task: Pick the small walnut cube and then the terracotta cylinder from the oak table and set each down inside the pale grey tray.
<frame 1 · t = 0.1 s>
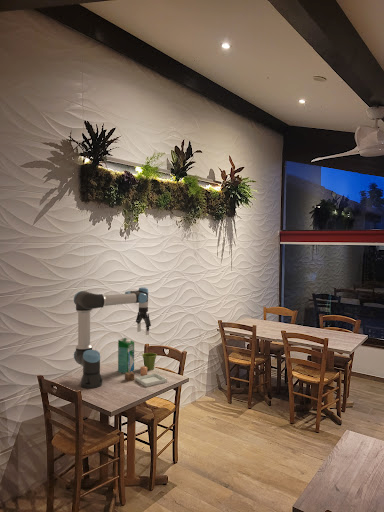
hand: (143, 333, 327), 28 cm above the table, fingers open, 13 cm apart
plant pot: (149, 368, 325), on the table
milk carton: (126, 371, 319), on the table
walnut cube: (129, 379, 299), on the table
terracotta cylinder: (143, 376, 306), on the table
pale grey tray: (151, 381, 296), on the table
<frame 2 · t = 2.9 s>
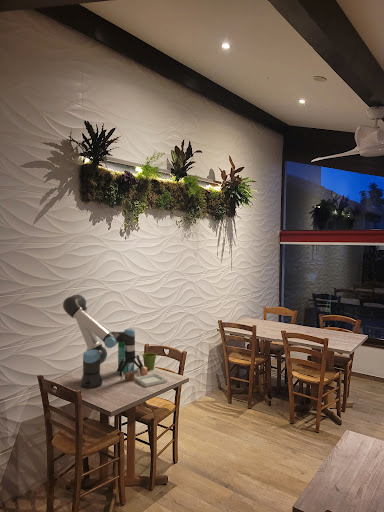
hand: (130, 378, 299), 1 cm above the table, fingers open, 13 cm apart
terracotta cylinder: (143, 376, 306), on the table, touching gripper
everything else where it was.
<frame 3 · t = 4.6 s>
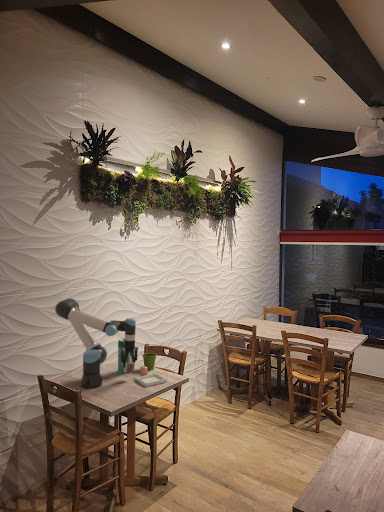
hand: (128, 370, 299), 6 cm above the table, fingers closed on walnut cube, 5 cm apart
walnut cube: (128, 371, 299), point 6 cm above the table, touching gripper
terracotta cylinder: (143, 376, 306), on the table
everything else where it was.
when the fingers open (2 cm above the table, at t = 8.1 s): walnut cube stays where it is, resting on pale grey tray.
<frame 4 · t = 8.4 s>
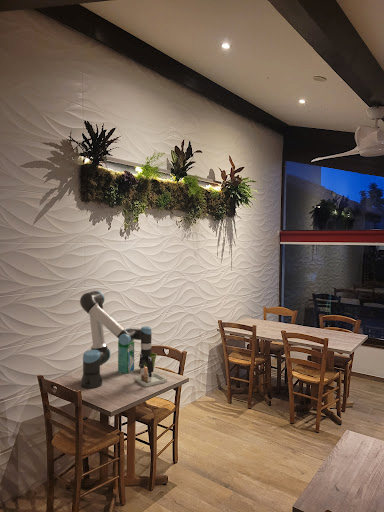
hand: (145, 379, 293), 3 cm above the table, fingers open, 9 cm apart
walnut cube: (146, 382, 293), resting on pale grey tray
everything else where it was.
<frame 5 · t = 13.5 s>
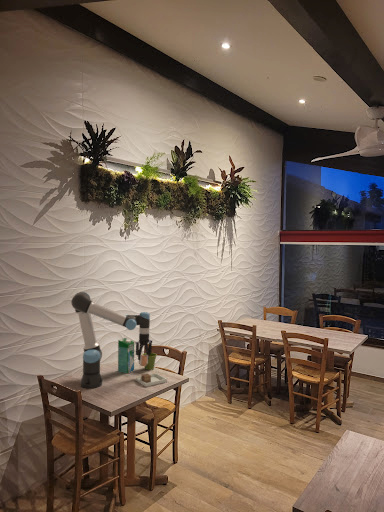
hand: (143, 363, 306), 10 cm above the table, fingers closed on terracotta cylinder, 5 cm apart
terracotta cylinder: (143, 365, 306), point 9 cm above the table, touching gripper
everything else where it was.
when the fingers open (2 cm above the table, at t = 16.6 s): terracotta cylinder stays where it is, resting on pale grey tray.
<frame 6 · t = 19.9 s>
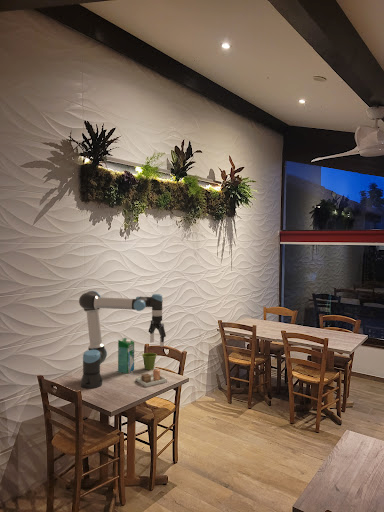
hand: (156, 344, 297), 27 cm above the table, fingers open, 13 cm apart
terracotta cylinder: (156, 379, 298), resting on pale grey tray
everything else where it was.
at the end: walnut cube inside the target area on the pale grey tray (4.4 cm from its centre), point 0.5 cm above the pale grey tray's base; terracotta cylinder inside the target area on the pale grey tray (4.6 cm from its centre), point 0.5 cm above the pale grey tray's base; the gripper is holding nothing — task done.
